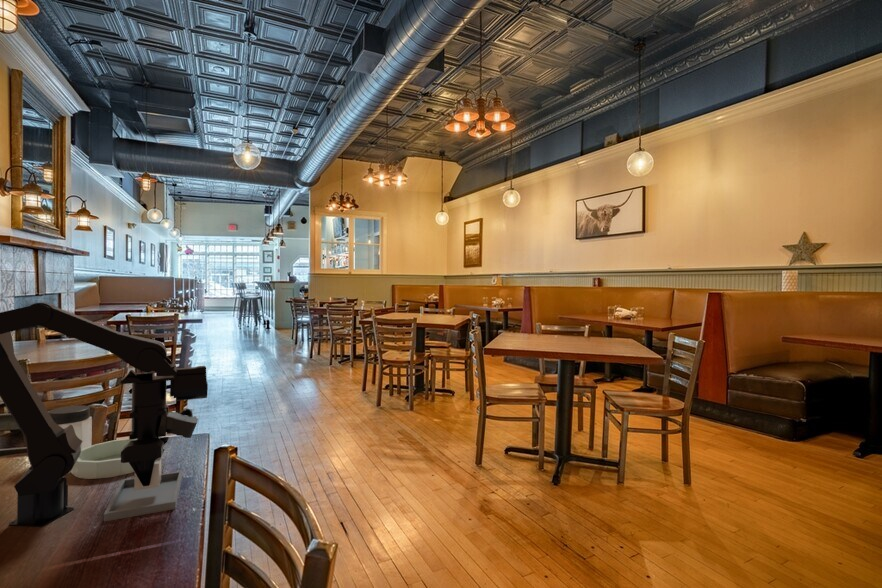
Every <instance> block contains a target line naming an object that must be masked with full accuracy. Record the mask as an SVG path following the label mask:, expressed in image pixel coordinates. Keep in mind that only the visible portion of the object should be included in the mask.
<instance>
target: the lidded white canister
mask: <svg viewBox="0 0 882 588" xmlns="http://www.w3.org/2000/svg"><path fill="white" fill-rule="evenodd" d="M47 411H48V412H49V414H50V416H51V417H52V419H53V421H54V422H55V423H56V424H57V425H59V426H60V427H62V428H63V429H65V428H66V427H68V426H70V425H72V426H73V428H74V431H75V434H76V436H77V437H78V438H79V439H80V440H82V441H83V442H82V443H81V445H80V448H81V450H82V449H84V448H87V447H89V446H92V444H93V443H92V442H93V441H92V438H93V437H92V435H93V434H92V432H93V429H92V426H93V417H92V416H90V415H91V413H90V412H91V407H90V406H89V405H70V406H69V405H68V406H61V407H57V408H52V409H50V410H47Z"/></svg>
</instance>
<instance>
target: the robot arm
mask: <svg viewBox="0 0 882 588" xmlns="http://www.w3.org/2000/svg"><path fill="white" fill-rule="evenodd" d="M35 326H40V327H43V328H45V329H50V330H51V331H54V332H56V333H58V334H59V333H60V334H62V335H65V336H67V337H70V338H72V339H75V340H77V341H81V342H83V343H86V344H89V345H92V346H93V347H96V348H99V349H102V350H104V351H107V352H109V353H111V354H113V355H114V356H116V358H117V357H118V358H119V359H120V360H122V362H124V363H126V364H127V365H129V366H131V367H133V368H135V369H137V370H138V371H141V372H142V373H141V372H139V373H138V372H135V370H133V369H130V370H129V372H128V373H127V374H126V375H125V376H124V377H122V378H121V379H120V381H119V382H120V385H128V384H129V385H130V384H131V411H130V412H129V419H131V432H130V433H129V437H128V439H129V440H130V439H137V440H134V441H130V442H129V443H128V444H127V445H126V446H125V447H124V448H123V450H122V451H121V463H128V462H129V464H130V465H131V467H132V468H133V470H134V472H133V473H134V474H135V473H136V475H137V477H138V478H139V480H140V482H141V484H142V485H143V486H149V485H150V482H151V477H152V473H153V468H154V464H155V460H156V459H158V458H160V457H162V456H163V454H164V452H165V448H164V446H165V445H166V444H167V443H168V442H169V438H170V437H169V436H166V435H170V434H172V435H176V436H180V437H182V438H185V439H191V438H192V436H193V433H194V432H195V428H196V427H197V424H198V420H199V418H197V416H194V415H193V409H191V408H186V407H184V408H183V409H182V410H181V411H180V412H177V411H176V412H170V406H168V404H167V382H168V381H169V382H170V383H169V385H170V386H169V397H173V399H175V400H176V402H179V401H180V402H181V401H182V402H183V401H190V400H199V399H200V400H202V399H208V389H209V387H208V386H209V384H208V380H207V366H206V365H197V366H193V367H182V368H181V367H180V368H179V367H177V366H176V363H173V361H172V360H171V359H170V358H169V357H168V356H167V353H168V350H167V348H166V346H165V344H164V343H163V342H161V341H159V340H156V339H151V338H147V337H143V336H139V335H132V334H127V333H124V332H120V331H117V330H115V329H113V328H110V327H107V326H104V325H102V324H100V323H97V322H94V321H92V320H90V319H87V318H85V317H82V316H80V315H77V314H74V313H72V312H70V311H68V310H65V309H62V308H60V307H57V306H56V305H55V304H53V303H50V302H35V303H33V304H29V305H28V306H24V307H19V308H14V309H10V310H6V311H1V312H0V399H1V401H2V402H3V404H4V405H5V406H6V407H5V408H6V409H7V410H8V412H9V413H10V415H11V417H12V418H13V420H14V421H15V423H16V425H17V427H18V428H19V429H20V432H21V433H22V435H23V436H24V438H25V444H26V445H25V446H26V452H27V459H28V462H29V465H30V467H29V468H27V470H26V471H25V473H23V475H21V477H20V478H19V480H18V481H17V482H16V483H15V484H14V485H13V487H14V489H15V491H16V493H17V501H16V502H17V508H16V509H17V510H16V519H14V520H13V521H10V522H9V523H8V526H9V527H10V526H11V527H32V528H34V527H35V528H41V527H45V526H47V525H49V524H50V523H52V522H54V521H55V520H56V521H57V520H58V519H59V518H62V517H63V516H65V515H67V514H69V513H71V512H72V511H74V510H75V507H73V506H72V507H71V506H69V507H68V502H69V501H68V500H69V499H68V497H69V496H68V495H69V486H68V484H67V482H68V480H67V479H68V478H67V477H65V476H67V475H68V474H69V473H71V470H72V468H73V466H74V465H75V463H76V461H77V460H78V458H79V456H80V453H81V448H80V445H81V443H82V442H83V441H82V440H80V439H79V438H78V437H77V436H76V434H75V431H74V428H73V426H72V425H70V426H68V427H66V428H65V429H63V428H62V427H60V426H59V425H57V424H56V423H55V422H54V421H53V419H52V417H51V416H50V414H49V412H48V411H49V410H48V409H47V408H46V406H45V404H44V403H43V400H42V399H41V397H40V395H39V394H38V393H37V390H36V389H35V387H34V386H33V384H32V382H31V381H30V379H29V378H28V375H27V374H26V372H25V371H24V369H23V367H22V366H21V363H20V362H19V361H18V359H17V357H16V354H15V349H14V341H13V336H12V334H11V333H12V332H16V331H20V330H23V329H27V328H31V327H35ZM154 372H155V373H157V374H159V375H154Z"/></svg>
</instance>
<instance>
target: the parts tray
mask: <svg viewBox="0 0 882 588" xmlns="http://www.w3.org/2000/svg"><path fill="white" fill-rule="evenodd" d="M183 472H184V471H183V470H181V471H174V472H173V471H172V472H167V473H161V481H160V484H159V487H154V488H148V489H141V490H135V491H134V478H135V477H132V478H124V479H122V480H121V481H120V484H119V485H118V486H117V489H116V490H115V492H114V494H113V496H112V498H111V499H110V501H109V503H108V505H107V507H106V508H105V511H104V513H103V522H104V523H105V522H110V521H115V520H121V519H126V518H131V517H137V516H143V515H149V514H154V513H159V512H165V511H171V510H176V509H177V503H178V499H179V494H180V491H181V486H182V481H183Z"/></svg>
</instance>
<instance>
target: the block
mask: <svg viewBox="0 0 882 588" xmlns="http://www.w3.org/2000/svg"><path fill="white" fill-rule="evenodd" d="M161 474H162V457H160V458H158V459H156V460H155V464H154V468H153V473H152V477H151V482H150V485H149V486H143V485H142V484H141V482H140V480H139V478H138V477H137V475H136V473H135V472H134V477H133V478H134V491H135V490H141V489H148V488H154V487H159V484H160V481H161Z"/></svg>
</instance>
